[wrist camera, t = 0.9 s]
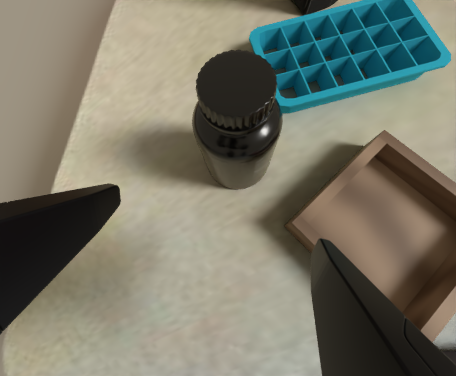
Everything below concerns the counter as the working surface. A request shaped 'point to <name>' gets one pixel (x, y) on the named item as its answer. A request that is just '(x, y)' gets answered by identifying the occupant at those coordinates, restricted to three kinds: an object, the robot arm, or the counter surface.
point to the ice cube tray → (340, 50)
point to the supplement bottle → (237, 117)
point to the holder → (392, 228)
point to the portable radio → (313, 5)
